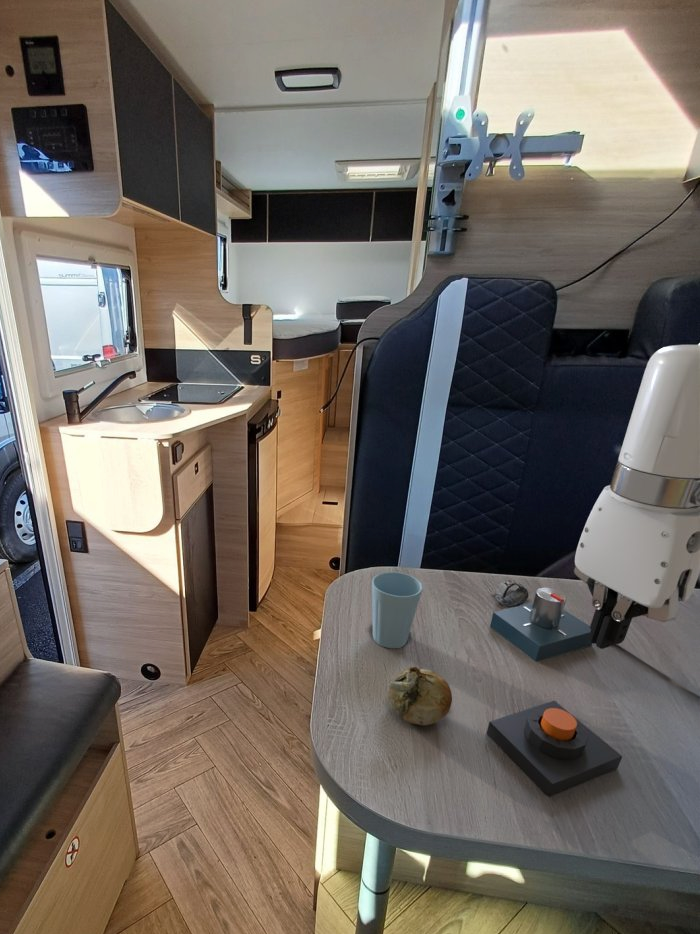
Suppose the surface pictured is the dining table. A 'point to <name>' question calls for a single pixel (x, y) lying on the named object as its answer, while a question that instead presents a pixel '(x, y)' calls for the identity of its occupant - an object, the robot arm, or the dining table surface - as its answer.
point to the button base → (552, 750)
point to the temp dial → (547, 607)
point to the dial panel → (540, 632)
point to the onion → (420, 696)
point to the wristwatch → (516, 596)
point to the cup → (394, 607)
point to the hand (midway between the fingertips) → (603, 641)
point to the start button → (558, 724)
